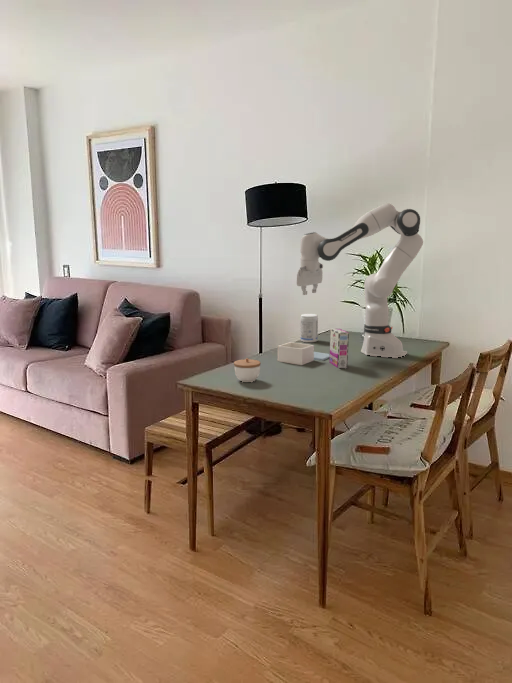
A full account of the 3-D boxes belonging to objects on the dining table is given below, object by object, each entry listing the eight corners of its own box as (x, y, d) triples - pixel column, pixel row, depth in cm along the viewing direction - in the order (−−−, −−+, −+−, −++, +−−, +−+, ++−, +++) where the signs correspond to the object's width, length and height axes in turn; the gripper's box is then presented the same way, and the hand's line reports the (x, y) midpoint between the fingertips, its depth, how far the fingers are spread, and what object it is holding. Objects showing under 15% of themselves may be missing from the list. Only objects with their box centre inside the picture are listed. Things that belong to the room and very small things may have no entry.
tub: (313, 362, 247) (314, 345, 245) (301, 366, 238) (301, 349, 237) (290, 358, 254) (290, 341, 253) (277, 362, 246) (277, 345, 244)
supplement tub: (309, 338, 302) (309, 313, 299) (321, 341, 295) (321, 315, 292) (296, 340, 296) (297, 314, 293) (308, 343, 289) (309, 316, 286)
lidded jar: (235, 377, 221) (234, 355, 219) (260, 377, 221) (260, 355, 219) (233, 384, 211) (233, 361, 209) (260, 384, 210) (260, 361, 209)
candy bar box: (348, 369, 234) (349, 332, 231) (337, 369, 233) (338, 332, 230) (339, 363, 245) (340, 328, 242) (328, 363, 244) (329, 328, 241)
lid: (333, 358, 255) (333, 350, 255) (322, 362, 247) (322, 354, 246) (303, 353, 265) (303, 346, 264) (291, 358, 256) (291, 350, 256)
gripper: (304, 267, 253) (304, 296, 256) (324, 264, 269) (324, 292, 272) (293, 267, 256) (293, 295, 259) (313, 264, 273) (313, 291, 276)
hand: (309, 293), depth 266 cm, fingers open, 8 cm apart
